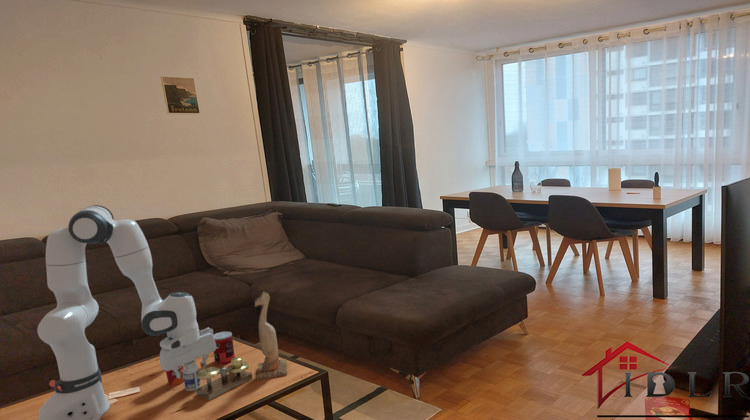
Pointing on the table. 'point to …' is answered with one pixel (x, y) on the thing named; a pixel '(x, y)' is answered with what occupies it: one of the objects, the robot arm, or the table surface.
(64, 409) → the robot arm
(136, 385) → the table surface
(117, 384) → the table surface
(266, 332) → the bird sculpture
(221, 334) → the canned food
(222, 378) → the balance
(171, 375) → the paper cup
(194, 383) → the pill bottle
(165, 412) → the table surface
